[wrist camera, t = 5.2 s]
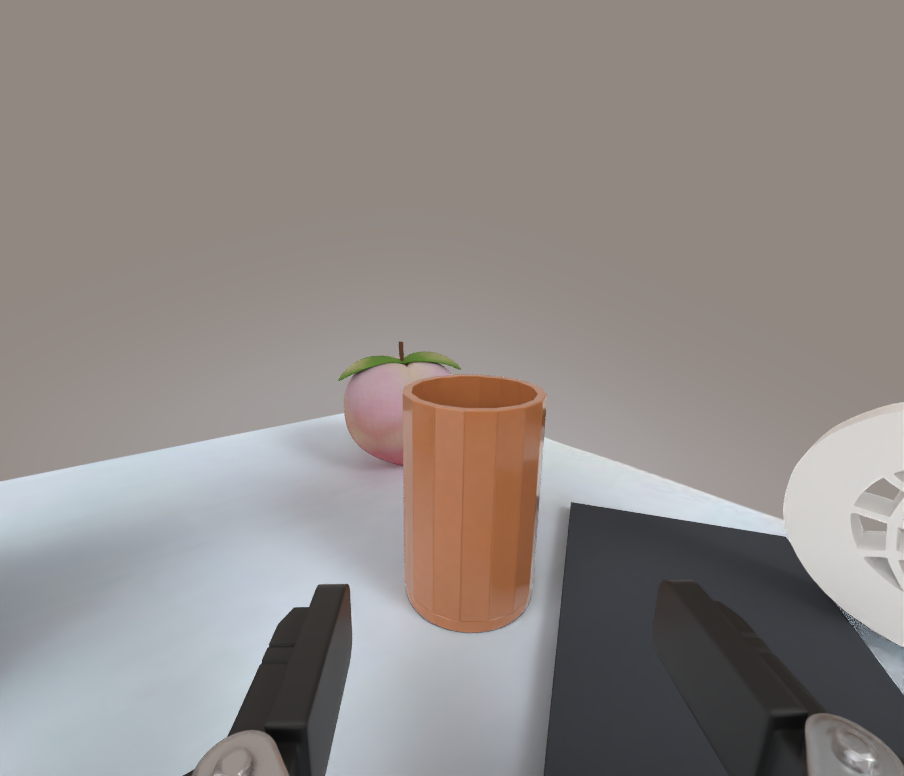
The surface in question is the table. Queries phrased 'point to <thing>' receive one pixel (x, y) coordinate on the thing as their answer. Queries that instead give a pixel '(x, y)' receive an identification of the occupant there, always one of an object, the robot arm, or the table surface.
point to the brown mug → (471, 497)
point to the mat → (641, 671)
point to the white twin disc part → (853, 518)
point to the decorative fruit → (385, 398)
